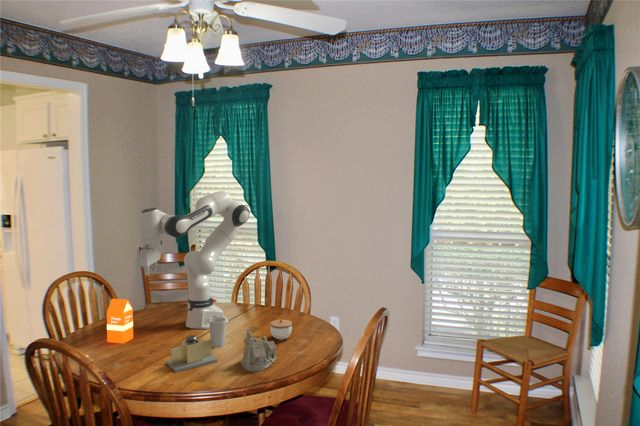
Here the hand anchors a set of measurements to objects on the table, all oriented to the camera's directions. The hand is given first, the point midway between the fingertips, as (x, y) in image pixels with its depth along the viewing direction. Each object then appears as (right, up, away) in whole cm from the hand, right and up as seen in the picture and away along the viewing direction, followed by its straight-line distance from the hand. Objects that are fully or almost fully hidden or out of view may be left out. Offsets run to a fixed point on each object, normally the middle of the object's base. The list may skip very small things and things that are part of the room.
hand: (150, 273), depth 211 cm
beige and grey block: (+24, -35, -18) cm, 46 cm away
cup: (+30, -35, +4) cm, 46 cm away
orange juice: (-18, -34, +8) cm, 39 cm away
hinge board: (+24, -36, -18) cm, 47 cm away
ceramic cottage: (+53, -37, -17) cm, 67 cm away
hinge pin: (+24, -35, -18) cm, 46 cm away
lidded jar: (+59, -34, +14) cm, 70 cm away
